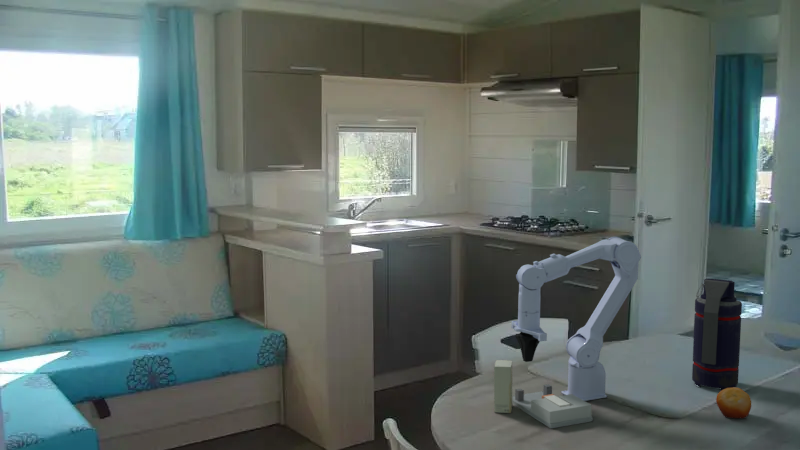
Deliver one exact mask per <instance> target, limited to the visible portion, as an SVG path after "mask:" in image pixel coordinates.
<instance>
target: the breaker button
mask: <svg viewBox="0 0 800 450" xmlns="http://www.w3.org/2000/svg"><path fill="white" fill-rule="evenodd" d="M543 398H545V399H547V400H549V401H550V402H552V403H554V404H555V405H557V406H559V407H566V406H570V404H569V403H567V402H566V401H564V400H562V399H560V398H559V397H558V396H557V395H556V394H554V393H552V394H549V395H543V396H542V399H543Z"/></svg>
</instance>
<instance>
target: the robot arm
mask: <svg viewBox="0 0 800 450" xmlns="http://www.w3.org/2000/svg"><path fill="white" fill-rule="evenodd" d="M549 256H550V257H548V258H545V259H542V260H540V261H538V260H535V261H532V263H533V264H529V263H528V264H524V265H521V267H520V268H519V269H518V270H517V274H515V278H516V281H517V282H518V283H519V284H518V296H517V297H518V301H517V302H518V303H517V304H518V305H517V306H518V307H517V309H518V310H517V319H516V320H511V329H513V330H514V331H515V332H519V333H515V338H516V340H517V343H518V345H519V348H520V352H521V356H522V361H523V362H525V363H528V362H533V360H534V357H535V353H536V350H537V348H538V345H539V344H540V342H546V341H548V340H547V339H548V336H547V335H548V334H547V332H545V331H544V330H543V329H542V328H541V323H540V322H541V299H542V298H541V296H542V295H541V288H542V287H543V285H544V283H548V282H551V281H553V280H556V279H558V278H561V277H564V276H566V275H568V274H569V272H570V270H571V269H572V268H575V267H579V266H581V265H584V264H587V263H591V262H593V261H595V260H603V261H609V263H610V264H611V267H612V269H613V272H614V277H613V279H612V281H611V282H610V284H609V285H608V287H607V289H606V291H605V292H604V293H603V296H602V297H601V299H600V300H599V302H598V304H597V306H596V307H595V309H594V310H593V312H592V314H591V315H590V317H589V319H588V320H587V322H586V323H585V325H584V326H581V327H580V328H579V329H577V331H576V332H575V334H574V335H572V336H570V338H568V340H567V341H566V345H565V349H566V352H567V354H568V355H569V358H568V361H567V362H568V369H567V370H568V372H567V374H568V375H567V390H566V389H565V390H561V391H560V392H561V394H562V395H568V394H573V395H575V396H576V397H578V398H580V399H582V400H584V401H586V402H587V401H592V400H593V401H594V400H598V399H605V398H607V397H608V395H607V394H606V379H607V378H606V376H607V374H606V369H605V367H604V365H603V363H601V362H599V360H600V355H601V351H602V349H603V346H604V335H605V334H606V332H607V331H608V328H609V327H610V326H611V324H612V322H613V320H614V319H615V317H616V316H617V314H618V312H619V311H620V309H621V307H622V306H623V305H624V302H625V301H626V299H627V297H628V296H629V294H630V292H631V291H632V289H633V288H634V286H635V284H636V283H637V280H638V277H639V264H640V261H641V258H642V256H641V252H640V250H639V248H638V246H637V244H635V243H634V242H632V241H628V240H626V239H623V238H621V237H619V236H610V237H609V238H607V239H606V238H605V239H601V240H599V241H597V242H595V243H594V244H591V245H588V246H586V247H585V248H582V249H580V250H577V251H575V252H572V253H571V254H568V255H566V256H565V255H562V254H560V253H558V254H556V253H551V254H549Z"/></svg>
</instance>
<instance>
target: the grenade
mask: <svg viewBox="0 0 800 450" xmlns="http://www.w3.org/2000/svg"><path fill="white" fill-rule="evenodd" d="M735 285H736V283H735V281H733V280H730V279H728V280H727V279H719V278H704V279H703V283H701V284H700V286H699V287H698V289H697V291H696V295H695V297H696V298H695V300H694V312H695V313H694V318H693V319H694V321H693V342H692V343H693V347H692V348H693V349H692V362H693V363H692V369H691V380H692V381H693V382H694V385H695V384H696V385H698V386H700V387H701V386H703V387H708V388H714V389H720V391H722V390H723V389H726V388H732V387H737V386H738V384H739V370H740V369H739V367H740V352H741V330H742V329H741V327H742V326H741V325H742V317H741V316H742V310H743V304H742V301H740V300H738V299H737V297H735ZM701 287H702V288H701ZM700 289H701V291H700ZM699 292H700V293H699ZM702 292H703V293H702Z"/></svg>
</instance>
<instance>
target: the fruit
mask: <svg viewBox="0 0 800 450" xmlns="http://www.w3.org/2000/svg"><path fill="white" fill-rule="evenodd" d="M715 402H716V406H717V407H718V409H719V411H720V412H721V414H722V416H724V417H725V418H727V419H728V418H729V419H746V418H747V417H748V416H749V413H750V411H751V409H752V400H751V396H750V395H749V394H748V393H747V392H745V391H744V390H743V389H742V388H740V387H737V386H735V387H732V388H726V389H723V390H722V391H721V390H720V391H719V392H718V393H717V395H716V398H715Z"/></svg>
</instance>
